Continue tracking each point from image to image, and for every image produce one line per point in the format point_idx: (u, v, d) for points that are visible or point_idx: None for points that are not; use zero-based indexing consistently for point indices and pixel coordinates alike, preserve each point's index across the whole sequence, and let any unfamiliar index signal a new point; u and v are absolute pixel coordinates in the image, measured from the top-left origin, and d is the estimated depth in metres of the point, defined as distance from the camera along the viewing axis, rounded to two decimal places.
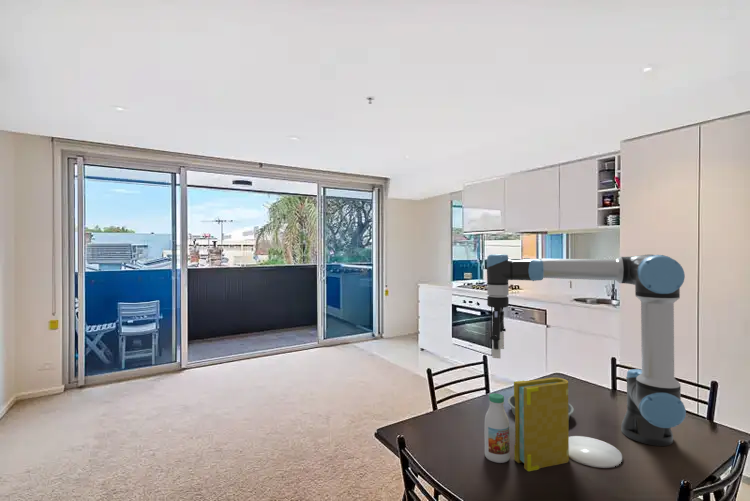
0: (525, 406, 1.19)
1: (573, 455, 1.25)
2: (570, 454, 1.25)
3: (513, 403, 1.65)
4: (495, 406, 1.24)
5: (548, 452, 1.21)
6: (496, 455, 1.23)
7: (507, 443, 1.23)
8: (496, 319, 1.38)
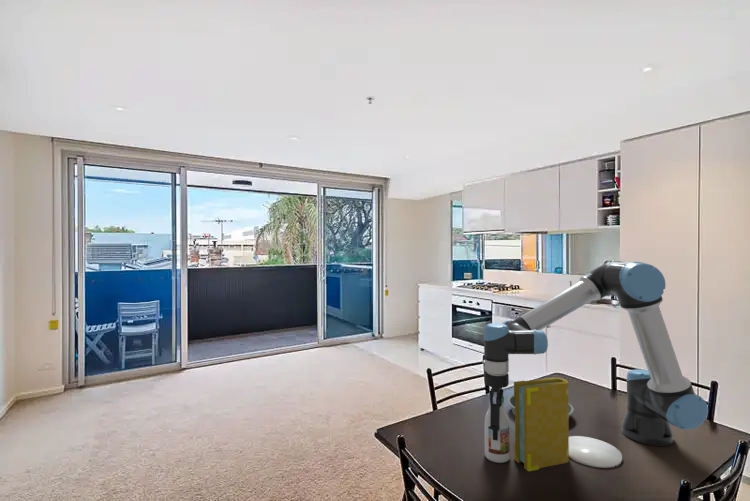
0: (525, 406, 1.19)
1: (573, 455, 1.25)
2: (570, 454, 1.25)
3: (513, 403, 1.65)
4: None
5: (548, 452, 1.21)
6: (496, 455, 1.23)
7: (507, 443, 1.23)
8: (495, 406, 1.20)
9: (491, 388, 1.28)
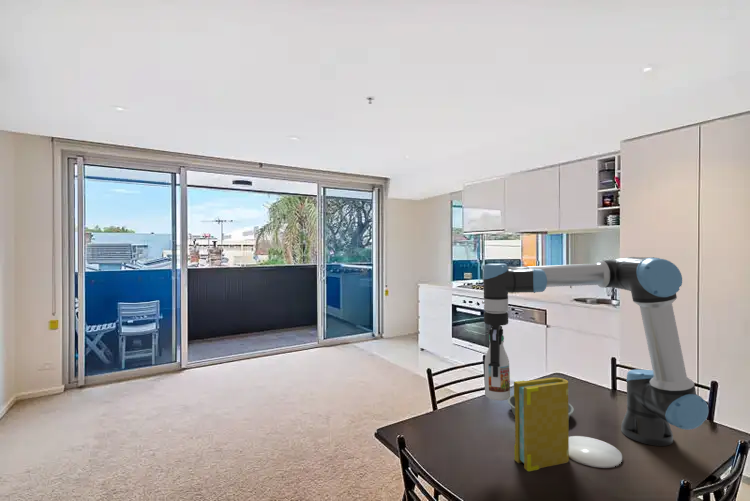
0: (525, 406, 1.19)
1: (573, 455, 1.25)
2: (570, 454, 1.25)
3: (513, 403, 1.65)
4: None
5: (548, 452, 1.21)
6: (496, 393, 1.22)
7: (507, 381, 1.23)
8: (495, 343, 1.20)
9: (491, 328, 1.28)
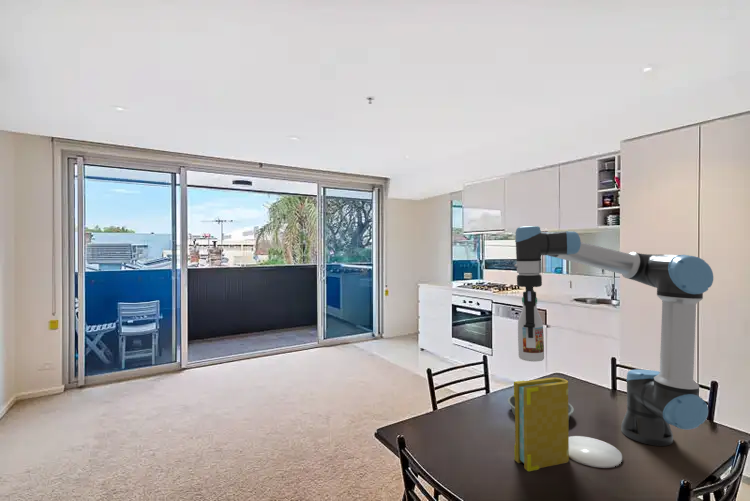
0: (525, 406, 1.19)
1: (573, 455, 1.25)
2: (570, 454, 1.25)
3: (513, 403, 1.65)
4: None
5: (548, 452, 1.21)
6: (531, 354, 1.23)
7: (542, 342, 1.24)
8: (530, 303, 1.20)
9: None
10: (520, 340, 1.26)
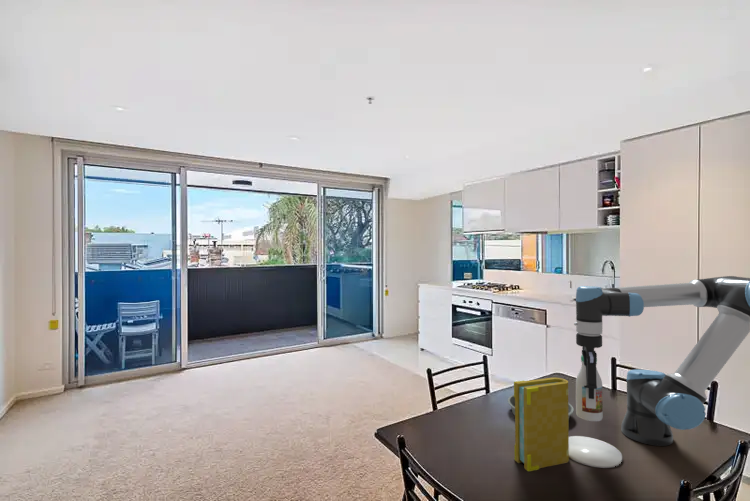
0: (525, 406, 1.19)
1: (573, 455, 1.25)
2: (570, 454, 1.25)
3: (513, 403, 1.65)
4: None
5: (548, 452, 1.21)
6: (591, 414, 1.25)
7: (601, 402, 1.25)
8: (592, 365, 1.22)
9: (582, 350, 1.30)
10: (579, 399, 1.27)
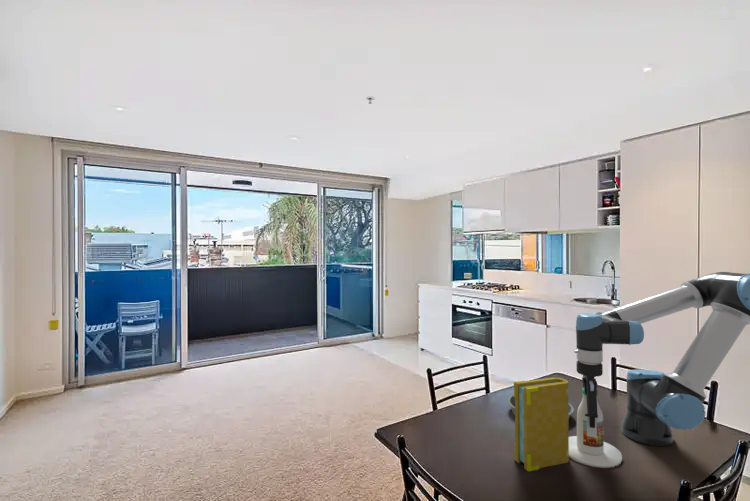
0: (525, 406, 1.19)
1: (573, 455, 1.25)
2: (570, 454, 1.25)
3: (513, 403, 1.65)
4: None
5: (548, 452, 1.21)
6: (592, 448, 1.24)
7: (602, 436, 1.25)
8: (592, 393, 1.22)
9: (583, 377, 1.30)
10: (580, 432, 1.27)
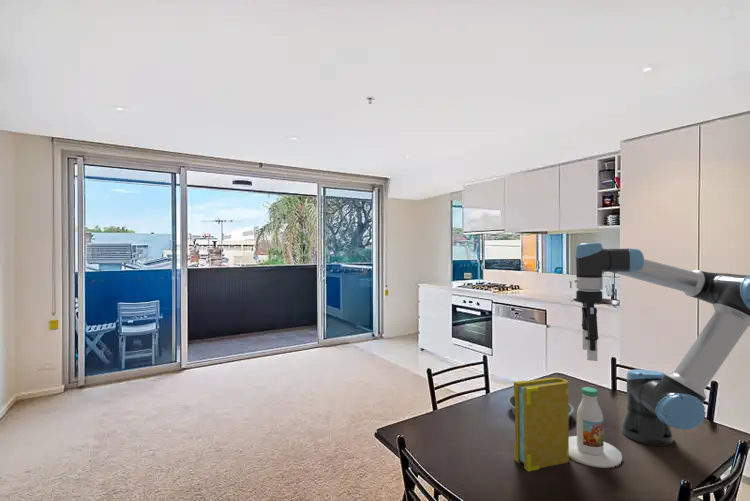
0: (525, 406, 1.19)
1: (573, 455, 1.25)
2: (570, 454, 1.25)
3: (513, 403, 1.65)
4: (590, 399, 1.26)
5: (548, 452, 1.21)
6: (592, 448, 1.25)
7: (602, 436, 1.25)
8: (592, 316, 1.21)
9: (583, 307, 1.30)
10: (580, 432, 1.27)
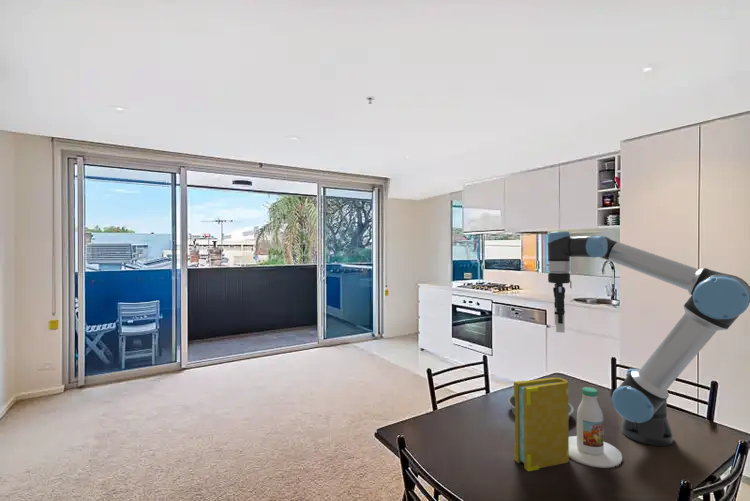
0: (525, 406, 1.19)
1: (573, 455, 1.25)
2: (570, 454, 1.25)
3: (513, 403, 1.65)
4: (590, 399, 1.26)
5: (548, 452, 1.21)
6: (592, 448, 1.25)
7: (602, 436, 1.25)
8: (560, 294, 1.41)
9: (554, 287, 1.49)
10: (580, 432, 1.27)
